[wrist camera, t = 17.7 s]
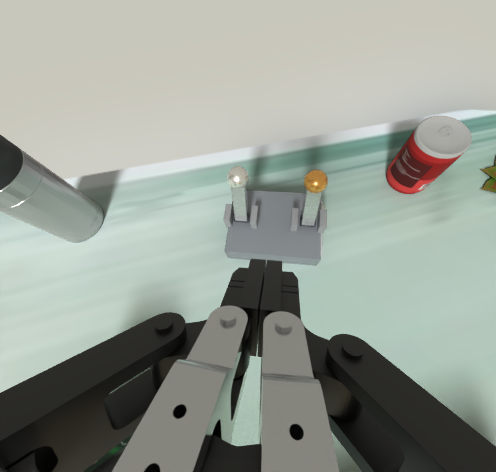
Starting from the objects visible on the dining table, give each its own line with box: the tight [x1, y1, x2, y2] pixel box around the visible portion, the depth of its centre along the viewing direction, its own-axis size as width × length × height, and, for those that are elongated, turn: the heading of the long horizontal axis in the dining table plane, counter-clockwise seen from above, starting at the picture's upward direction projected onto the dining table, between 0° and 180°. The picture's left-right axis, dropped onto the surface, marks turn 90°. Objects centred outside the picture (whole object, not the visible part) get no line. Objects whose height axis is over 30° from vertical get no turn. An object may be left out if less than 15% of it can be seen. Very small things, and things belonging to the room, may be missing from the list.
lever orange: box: [300, 170, 328, 227], centre depth 36 cm, size 3×3×10 cm
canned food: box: [386, 116, 472, 194], centre depth 41 cm, size 8×8×11 cm
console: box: [224, 190, 327, 265], centre depth 42 cm, size 17×12×7 cm
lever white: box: [227, 166, 250, 223], centre depth 37 cm, size 3×3×10 cm
